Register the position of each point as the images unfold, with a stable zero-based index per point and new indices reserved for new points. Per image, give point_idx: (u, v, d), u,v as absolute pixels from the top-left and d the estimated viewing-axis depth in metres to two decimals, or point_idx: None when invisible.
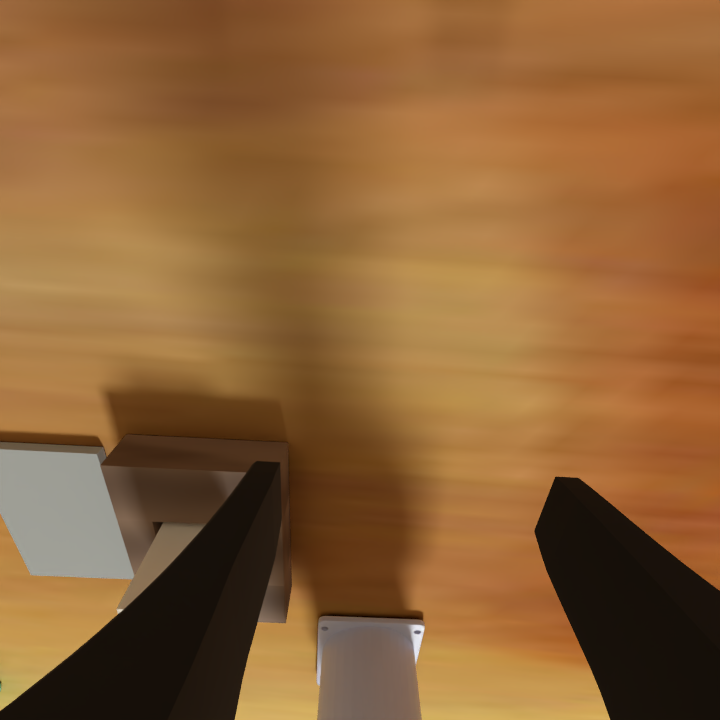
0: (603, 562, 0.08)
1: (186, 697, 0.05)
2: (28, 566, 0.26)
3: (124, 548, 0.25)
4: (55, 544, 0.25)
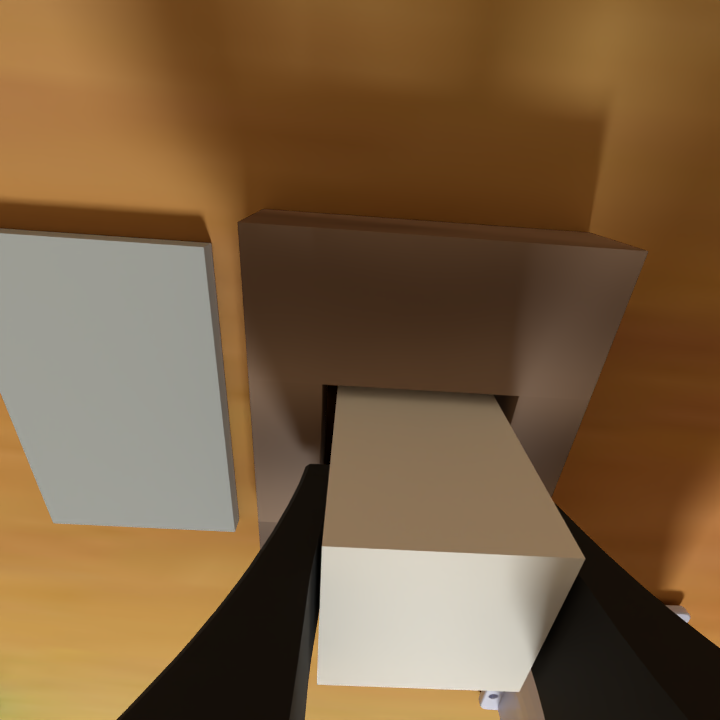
0: None
1: (293, 701, 0.05)
2: (49, 506, 0.15)
3: (224, 470, 0.14)
4: (99, 462, 0.14)
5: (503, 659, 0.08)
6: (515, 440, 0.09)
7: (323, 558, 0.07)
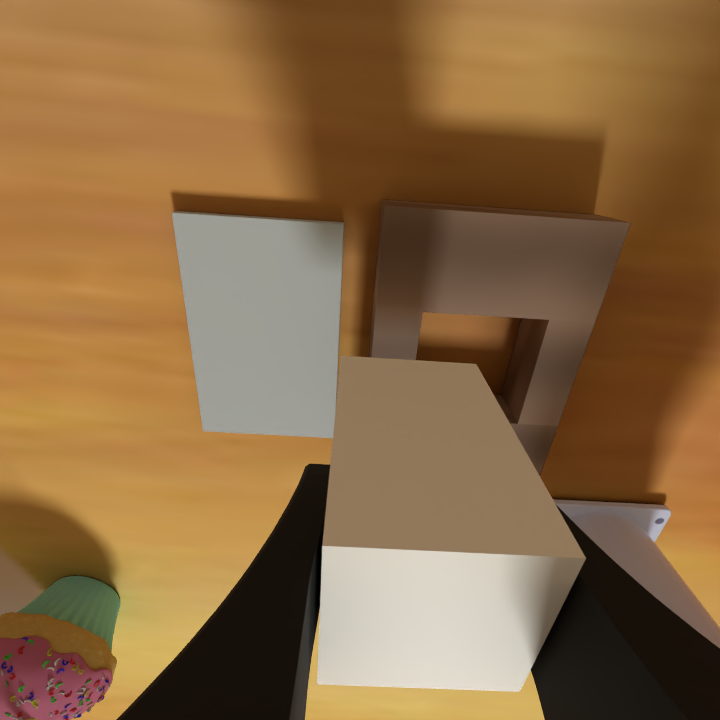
0: None
1: (293, 701, 0.05)
2: (202, 417, 0.21)
3: (334, 387, 0.20)
4: (246, 381, 0.20)
5: (504, 659, 0.08)
6: (515, 440, 0.09)
7: (323, 558, 0.07)
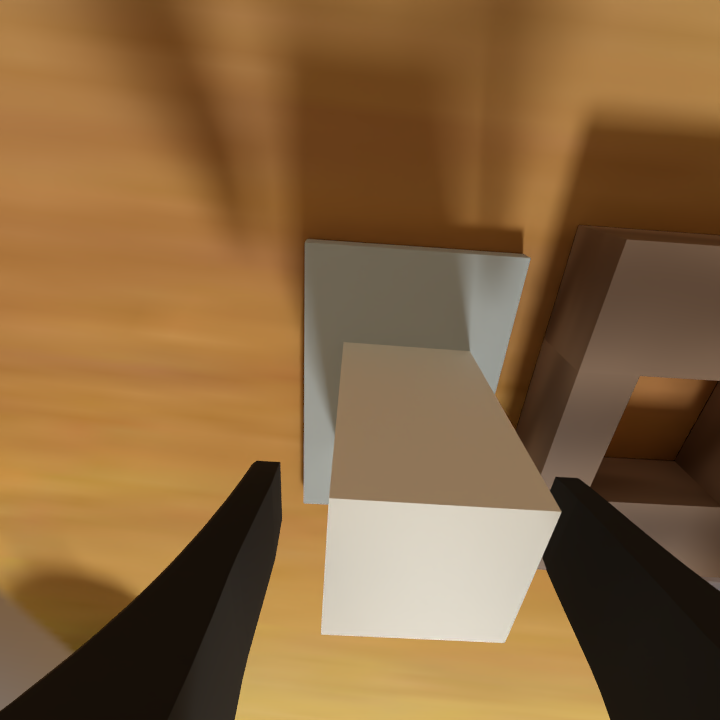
0: (603, 562, 0.08)
1: (186, 697, 0.05)
2: (305, 487, 0.17)
3: None
4: None
5: (490, 610, 0.09)
6: (504, 416, 0.10)
7: (330, 510, 0.07)
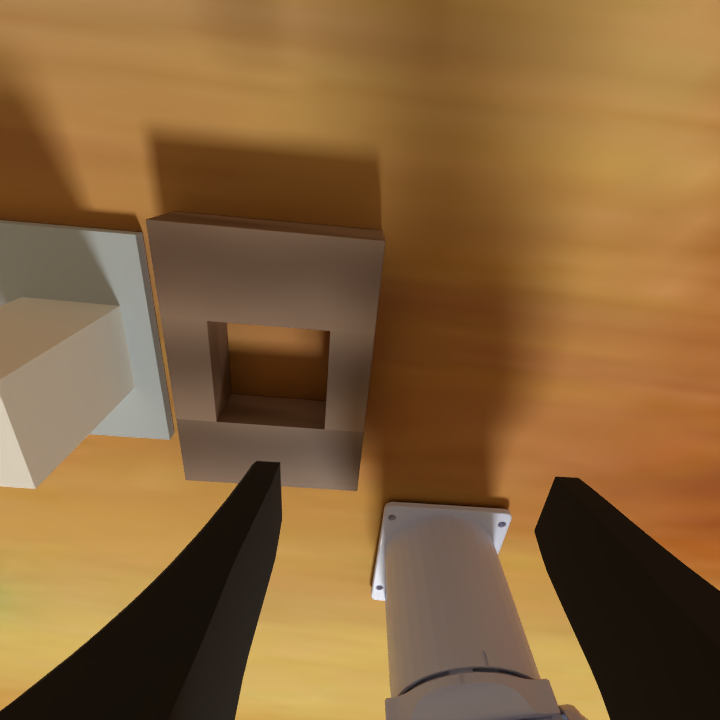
0: (603, 562, 0.08)
1: (186, 697, 0.05)
2: None
3: (159, 391, 0.20)
4: None
5: (5, 460, 0.13)
6: (61, 340, 0.15)
7: None
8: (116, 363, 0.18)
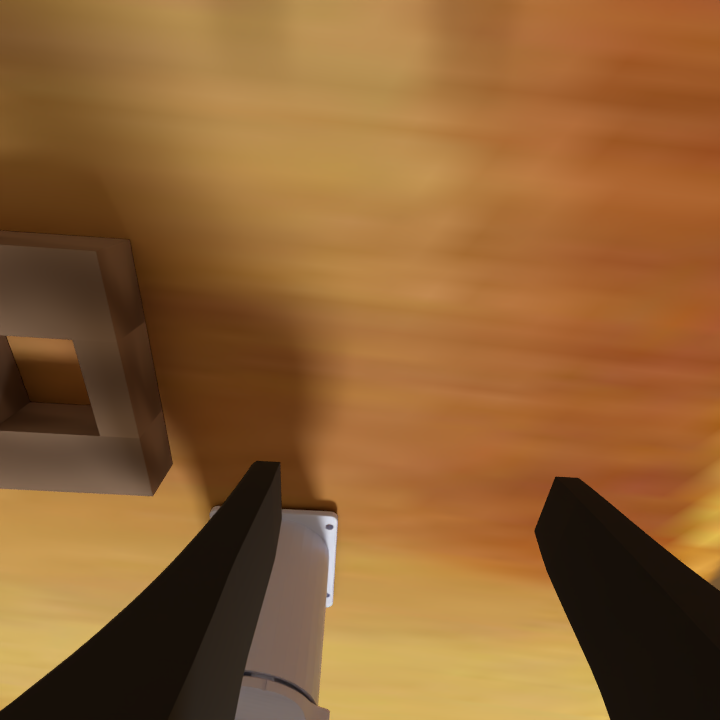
0: (603, 562, 0.08)
1: (186, 697, 0.05)
2: None
3: None
4: None
5: None
6: None
7: None
8: None
